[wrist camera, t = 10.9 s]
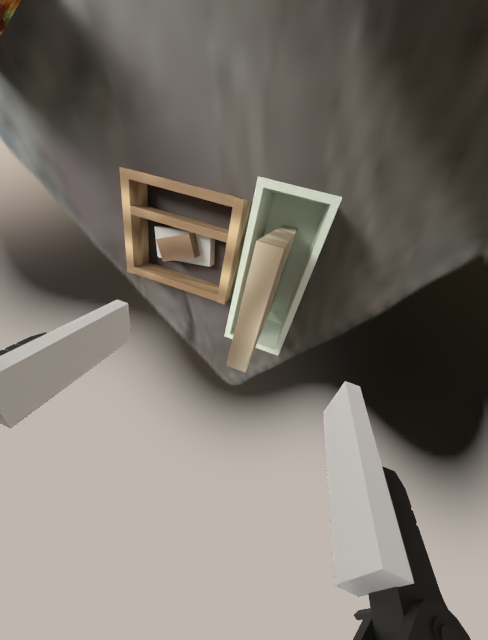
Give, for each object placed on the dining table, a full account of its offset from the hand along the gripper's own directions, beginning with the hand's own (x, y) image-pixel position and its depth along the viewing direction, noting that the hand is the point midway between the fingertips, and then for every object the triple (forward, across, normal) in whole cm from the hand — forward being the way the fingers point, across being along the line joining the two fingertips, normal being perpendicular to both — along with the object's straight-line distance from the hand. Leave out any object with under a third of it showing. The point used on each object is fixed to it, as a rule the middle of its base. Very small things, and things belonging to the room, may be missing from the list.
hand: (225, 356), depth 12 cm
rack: (+25, -16, 0) cm, 29 cm away
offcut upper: (+23, -16, -2) cm, 28 cm away
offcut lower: (+25, -16, -2) cm, 30 cm away
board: (+24, 0, -1) cm, 24 cm away
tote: (+25, 0, -1) cm, 25 cm away
